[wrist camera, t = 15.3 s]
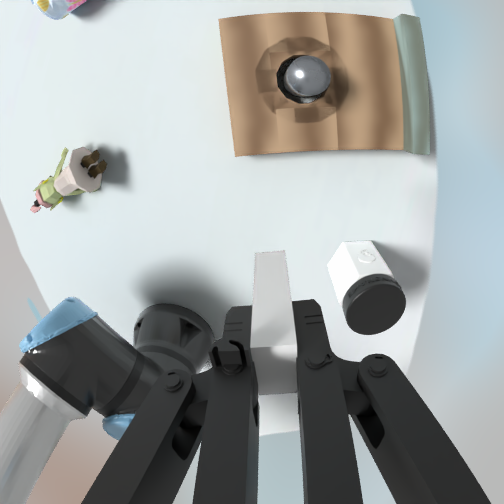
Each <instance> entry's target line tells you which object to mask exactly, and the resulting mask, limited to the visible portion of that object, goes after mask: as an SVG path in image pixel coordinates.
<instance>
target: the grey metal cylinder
mask: <svg viewBox="0 0 504 504" xmlns="http://www.w3.org/2000/svg"><path fill="white" fill-rule="evenodd" d="M330 80H331V74H330V70H329V68H328V66H327V65H326V64H325V62H323V61H322V60H321V59H319V58H317V57H314V56H301V57H299V58H297V59H295V60H294V61H293V62H292V63H291V64H290V66H289V67H288V69H287V70H286V72H285V74H284V77H283V83H284V86H285V88H286V90H287V91H288V92H289V93H290V94H292V95H294V96H297V97H306V96H312V95H317V94H320V93H322V92H323V91H325V90H326V89H327V87H328V86H329V84H330Z"/></svg>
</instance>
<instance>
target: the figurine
mask: <svg viewBox="0 0 504 504" xmlns="http://www.w3.org/2000/svg"><path fill="white" fill-rule="evenodd" d="M67 152H68V149H67V148H66V147H65V149H64V150H63V152H62V154H61V156H62V159H61V161H60V163H59V165H58V167H57V169H56V172H55V175H54V177H52V176H50V177H49V178H48V179H47V180H45V181H44V180H43V181H42V182H41V183H40V184H39V185H38V187H37V188H36V189H35V190H34V191H36V190H37V191H36V198H37V200H36V201H35V202H34V205H33V206H32V207H31V209H30V210H31V211H32V212H34V213H36V212H38V211H39V210H40V209H41V207H39V206H40V205H42V206H44V207H46V208H49V207H51V206H52V207H51V209H50V210H52V209H53V208H54V207H55V206H56V205H58V204H59V203H60V202H62V200H63V198H64V197H62V195H63V196H66V195H67V196H68V195H78V194H81V193H84V192H89V193H91V192H95V191H97V189H98V188H100V187H101V179H102V173H103V172H104V171H105V169H106V166H107V164H106V162H105V161H104V160H103V161H101V162H100V163H98V159H99V156H100V154H99V152H98V151H97V150H96V151H94V152H90V151H89V150H88V149H86V148H85V147H81V148H78V149H75V150H73V151H72V154H71V157H70V161H69V166H67V167H66V168H65V169H63V170H62V166H63V163H64V160H65V157H66V155H67ZM61 170H62V171H61ZM61 199H62V200H61Z"/></svg>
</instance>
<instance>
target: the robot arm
mask: <svg viewBox="0 0 504 504" xmlns="http://www.w3.org/2000/svg"><path fill="white" fill-rule="evenodd" d="M19 346H20V349H21V351H22V352H23V353H25V355H24V356H23V358H22V359H21V361H20V362H19V370H20V376H21V379H20V382H19V384H18V385H17V387H16V389H15V390H14V392H13V393H12V395H11V397H10V398H9V400H8V402H7V403H6V405H5V407H4V408H3V410H2V412H1V413H0V504H25V503H26V501H27V499H28V497H29V495H30V493H31V491H32V489H33V488H34V486H35V484H36V482H37V480H38V478H39V476H40V474H41V472H42V471H43V469H44V467H45V465H46V463H47V461H48V460H49V458H50V456H51V454H52V452H53V451H54V449H55V447H56V445H57V443H58V442H59V440H60V438H61V437H62V435H63V433H64V431H65V430H66V428H67V426H68V425H69V423H70V421H72V420H75V419H83V418H86V417H87V415H88V414H89V412H90V410H91V409H92V408H93V409H94V410H96V411H97V412H99V413H100V414H102V415H103V416H104V417H105V418H104V419H103V421H102V422H103V429H104V430H105V431H106V432H107V433H108V434H109V435H110V436H112V437H113V438H115V439H117V440H119V442H118V443H117V445H116V447H115V448H114V450H113V452H112V453H111V455H110V457H109V458H108V460H107V462H106V463H105V465H104V467H103V468H102V470H101V472H100V473H99V475H98V476H97V478H96V480H95V481H94V483H93V485H92V486H91V488H90V490H89V491H88V493H87V495H86V496H85V498H84V500H83V501H82V503H81V504H172V503H173V501H174V499H175V497H176V495H177V493H178V491H179V488H180V486H181V484H182V482H183V480H184V478H185V476H186V473H187V471H188V469H189V467H190V465H191V463H192V460H193V458H194V456H195V454H196V452H197V449H198V447H199V445H200V443H201V448H200V455H199V461H198V469H197V475H196V483H195V489H194V496H193V504H257V493H258V452H259V403H258V393H259V395H269V394H284V393H296V392H298V414H299V424H300V437H301V453H302V469H303V488H304V504H363V499H362V493H361V486H360V479H359V473H358V467H357V460H356V455H355V449H354V444H353V438H352V432H351V427H350V422H349V417H348V414H350V415H351V417H352V419H353V421H354V423H355V424H356V426H357V428H358V430H359V432H360V434H361V436H362V438H363V440H364V442H365V443H366V446H367V447H368V449H369V451H370V453H371V455H372V457H373V459H374V461H375V463H376V465H377V466H378V468H379V470H380V472H381V474H382V476H383V478H384V480H385V482H386V484H387V486H388V488H389V490H390V492H391V494H392V495H393V498H394V499H395V502H396V504H491V503H490V501H489V499H488V498H487V496H486V494H485V493H484V491H483V489H482V488H481V486H480V484H479V483H478V482H477V480H476V478H475V477H474V475H473V473H472V472H471V470H470V469H469V467H468V466H467V464H466V463H465V461H464V459H463V458H462V456H461V455H460V454H459V452H458V450H457V449H456V447H455V446H454V444H453V443H452V441H451V440H450V439H449V437H448V436H447V434H446V433H445V431H444V430H443V428H442V427H441V425H440V424H439V422H438V421H437V420H436V418H435V417H434V415H433V414H432V412H431V411H430V410H429V408H428V407H427V405H426V404H425V403H424V401H423V400H422V398H421V397H420V396H419V394H418V393H417V392H416V390H415V389H414V387H413V386H412V385H411V383H410V382H409V381H408V379H407V378H406V376H405V375H404V374H403V372H402V371H401V370H400V368H399V367H398V366H397V364H396V363H395V362H394V361H393V360H392V359H391V358H390V357H388V356H386V355H383V354H372V355H368V356H367V357H365V358H363V359H362V361H361V362H353V361H347V360H343V359H341V358H339V357H337V356H336V355H335V354H334V353H333V352H332V350H331V348H330V344H329V340H328V335H327V331H326V327H325V323H324V319H323V315H322V311H321V307H320V305H319V304H318V303H317V302H316V301H315V300H314V299H311V300H301V301H292V300H291V292H290V285H289V277H288V270H287V263H286V255H285V250H284V251H273V252H262V253H255V265H254V285H253V304H252V305H251V306H237V307H232V308H231V309H230V310H229V312H228V313H227V314H226V320H225V326H224V332H223V338H222V339H220V340H218V341H216V342H215V343H214V336H213V333H212V330H211V328H210V327H209V325H208V324H207V323H206V322H205V321H204V320H203V319H202V318H201V317H200V316H199V315H197V314H196V313H194V312H192V311H191V310H188V309H186V308H184V307H181V306H177V305H172V304H157V305H153V306H150V307H148V308H147V309H145V310H144V311H143V312H142V313H141V314H140V316H139V318H138V320H137V322H136V324H135V327H134V338H133V346H132V345H131V344H129V343H128V342H127V341H126V340H125V339H124V338H122V337H121V336H120V335H119V334H118V333H117V332H115V331H114V330H113V329H112V328H111V327H110V326H109V325H108V324H107V323H105V322H104V321H103V320H102V319H101V318H100V317H99V316H98V314H97V312H94V311H92V310H91V309H90V308H89V307H88V306H87V305H85V304H84V303H83V302H82V301H81V300H80V299H78V298H76V297H68V298H66V299H65V300H63V301H62V302H61V303H60V304H58V305H57V306H56V307H55V308H54V309H53V310H52V311H51V312H50V313H49V314H48V315H46V316H45V317H44V318H43V319H42V320H41V321H40V322H39V323H38V324H37V325H36V327H34V328H33V329H32V331H31V332H30V333H29V334H28V335H27V336H26V337H25V338H24V339H23V340H22V341H21V342H20V344H19ZM209 358H210V360H211V363H212V366H213V367H212V368H211V369H209V370H207V371H205V372H202V373H199V372H200V371H201V369H202V368H203V367H204V365H205V364H206V362H207V361H208V360H209Z"/></svg>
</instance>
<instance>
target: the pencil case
mask: <svg viewBox="0 0 504 504" xmlns="http://www.w3.org/2000/svg"><path fill="white" fill-rule="evenodd" d="M86 1H87V0H31V2H32V4H35V5H36V7H37V8H38V9H39V10H40V11H41V12H42V13H44V14H45V15H46V16H48V17H50V18H52V19H56V20H58V19H63V18H64V17H66V16H67V15H68V14H69V13H70V12H72V11H73V10H74V9H76V8H77V7H78V6H80V5H81V4H83V3H84V2H86Z"/></svg>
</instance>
